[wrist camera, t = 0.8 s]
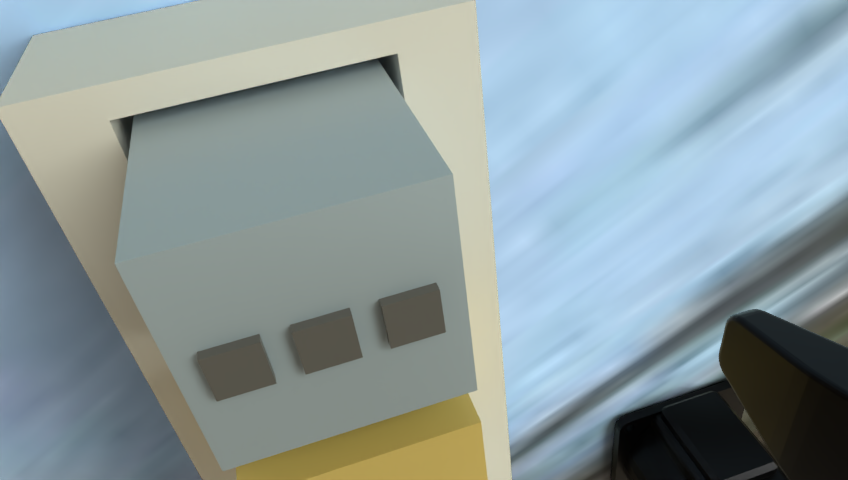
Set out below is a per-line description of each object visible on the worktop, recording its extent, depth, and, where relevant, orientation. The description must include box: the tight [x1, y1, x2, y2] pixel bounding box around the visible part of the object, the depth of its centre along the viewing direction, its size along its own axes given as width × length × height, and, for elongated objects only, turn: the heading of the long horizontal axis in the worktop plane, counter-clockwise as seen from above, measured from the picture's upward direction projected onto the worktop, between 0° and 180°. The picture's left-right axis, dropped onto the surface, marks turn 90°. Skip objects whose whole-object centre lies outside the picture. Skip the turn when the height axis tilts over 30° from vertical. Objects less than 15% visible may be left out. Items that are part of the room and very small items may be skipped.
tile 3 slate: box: [115, 59, 478, 471], centre depth 13 cm, size 5×5×5 cm
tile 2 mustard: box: [236, 393, 488, 480], centre depth 17 cm, size 5×5×5 cm
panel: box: [0, 0, 512, 480], centre depth 20 cm, size 19×9×4 cm, turn 7°
